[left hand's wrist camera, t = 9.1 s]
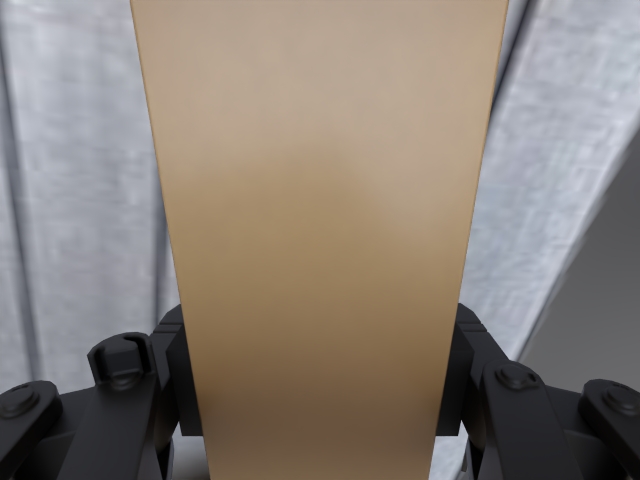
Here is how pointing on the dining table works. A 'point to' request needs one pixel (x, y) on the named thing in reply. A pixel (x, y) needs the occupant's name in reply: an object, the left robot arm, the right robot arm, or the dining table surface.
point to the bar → (319, 218)
